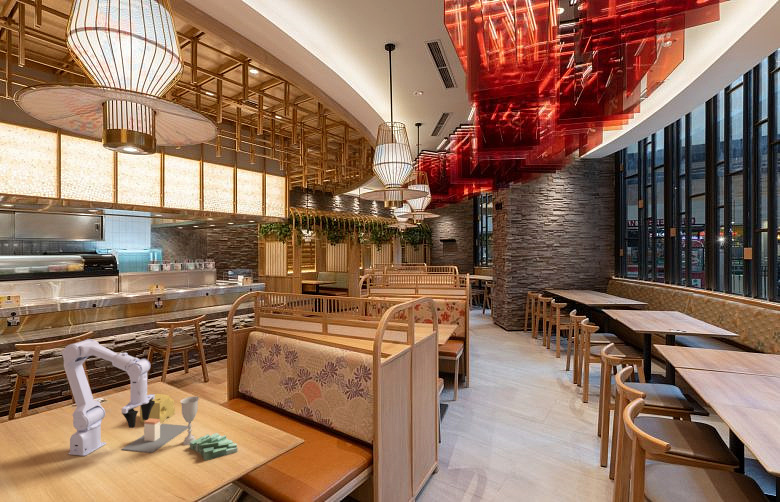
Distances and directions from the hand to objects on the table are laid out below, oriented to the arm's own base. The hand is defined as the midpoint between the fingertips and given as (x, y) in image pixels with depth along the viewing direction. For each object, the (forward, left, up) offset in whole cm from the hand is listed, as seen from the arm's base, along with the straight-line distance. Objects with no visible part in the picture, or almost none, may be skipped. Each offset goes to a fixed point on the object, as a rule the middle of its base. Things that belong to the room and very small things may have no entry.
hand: (138, 423), depth 151 cm
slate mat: (+9, -1, -10) cm, 14 cm away
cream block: (+7, 0, -10) cm, 12 cm away
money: (+5, -31, -11) cm, 34 cm away
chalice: (+8, -17, -11) cm, 22 cm away
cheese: (+25, +13, -11) cm, 30 cm away
